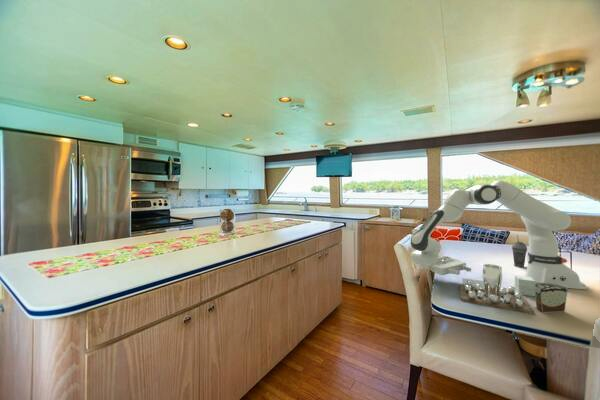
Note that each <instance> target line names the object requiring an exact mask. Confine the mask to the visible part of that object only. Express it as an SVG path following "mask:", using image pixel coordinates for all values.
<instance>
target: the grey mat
mask: <svg viewBox="0 0 600 400" xmlns="http://www.w3.org/2000/svg"><path fill="white" fill-rule="evenodd" d="M461 279H462V285H467V280H471V281H473V287H476V284H481V285H482V288H485V286H484V281H483V280H477V279H470V278H465V277H462V278H461Z"/></svg>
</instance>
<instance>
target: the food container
mask: <svg viewBox="0 0 600 400" xmlns="http://www.w3.org/2000/svg"><path fill="white" fill-rule="evenodd" d="M533 290H534V291H535V296H534V297H535V305H536V309H537V311H538V312H540V313H543V314H545V313H546V314H548V313H565V312H566V304H567V297H568V293H569V291H570V290H569V288H568V287H565V286H561V285H556V284H551V283H537V282H536V283H535V285H534V286H533Z"/></svg>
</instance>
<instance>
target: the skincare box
mask: <svg viewBox="0 0 600 400" xmlns="http://www.w3.org/2000/svg"><path fill="white" fill-rule="evenodd" d="M535 283H537V282H536V281H535V280H533V279H532V278H531V277H526V276H525V275H514V287H515V292H516V293H521V294H522V295H523V296H529V297H536V296H535V291H534V290H533V286H534V285H535Z"/></svg>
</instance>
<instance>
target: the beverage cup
mask: <svg viewBox="0 0 600 400" xmlns="http://www.w3.org/2000/svg"><path fill="white" fill-rule="evenodd" d="M516 238H517V241H515V242H514V243H513V244H511V245H512V246H511V250H512V255H513V264H514V265H513V266H514V267H517V268H525V264H526V257H527V252H528V246H527V244H525V243H524V242H523V241H520V239H519V234H516Z"/></svg>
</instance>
